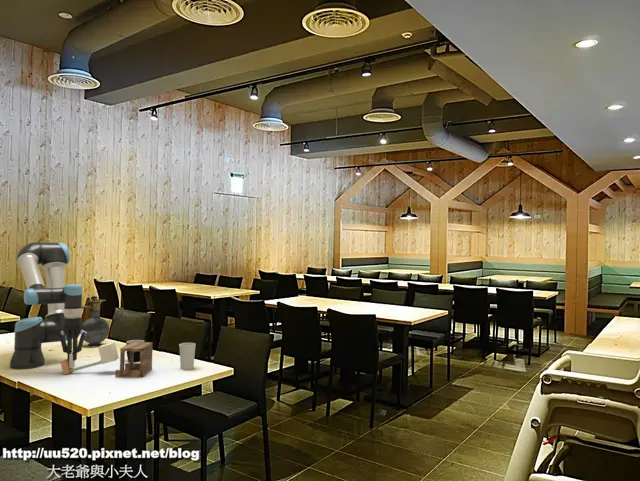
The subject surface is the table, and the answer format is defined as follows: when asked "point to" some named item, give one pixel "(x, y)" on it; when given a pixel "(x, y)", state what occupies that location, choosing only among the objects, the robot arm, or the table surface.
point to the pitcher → (95, 324)
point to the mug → (136, 353)
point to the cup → (187, 355)
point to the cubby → (135, 368)
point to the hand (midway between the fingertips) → (71, 367)
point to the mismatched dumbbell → (106, 354)
